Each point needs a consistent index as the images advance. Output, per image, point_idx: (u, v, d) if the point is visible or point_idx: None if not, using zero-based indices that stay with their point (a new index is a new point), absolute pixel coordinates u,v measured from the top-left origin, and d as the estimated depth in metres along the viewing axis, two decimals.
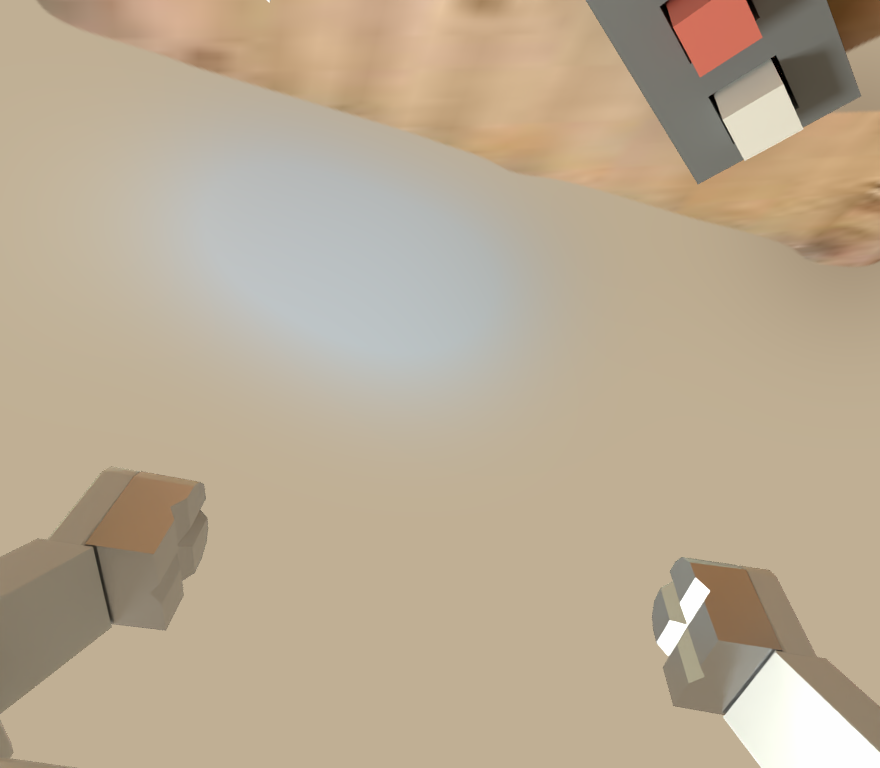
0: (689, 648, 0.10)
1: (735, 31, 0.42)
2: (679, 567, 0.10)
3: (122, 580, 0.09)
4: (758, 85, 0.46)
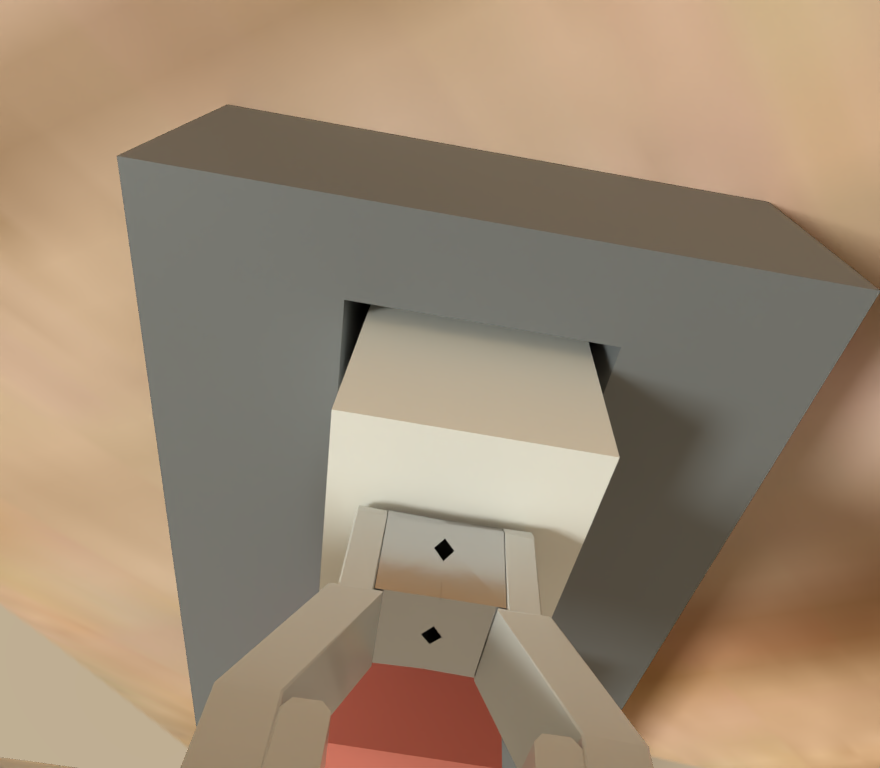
0: None
1: None
2: None
3: (397, 622, 0.09)
4: None
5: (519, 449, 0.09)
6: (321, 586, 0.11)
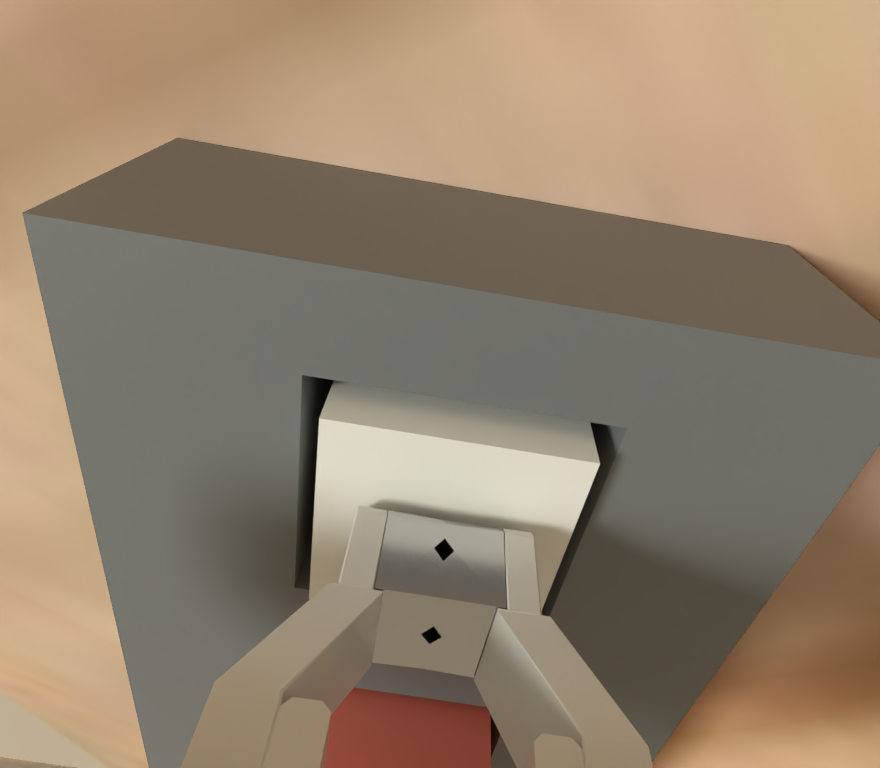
0: None
1: None
2: None
3: (397, 622, 0.09)
4: None
5: (502, 455, 0.09)
6: (311, 592, 0.12)
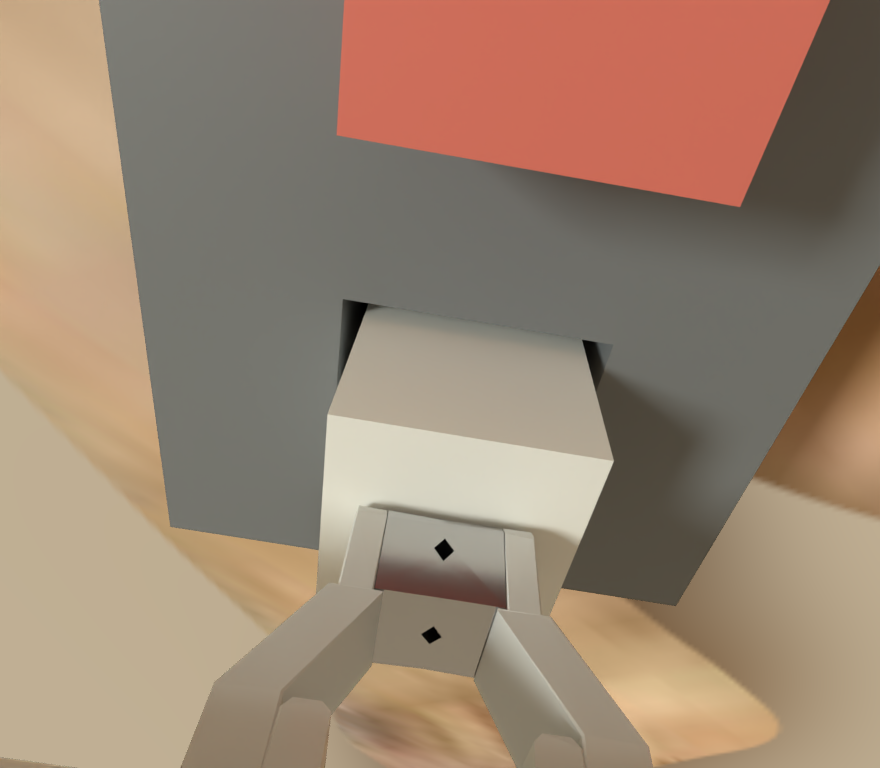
0: None
1: (681, 21, 0.06)
2: None
3: (397, 622, 0.09)
4: (520, 386, 0.11)
5: None
6: None
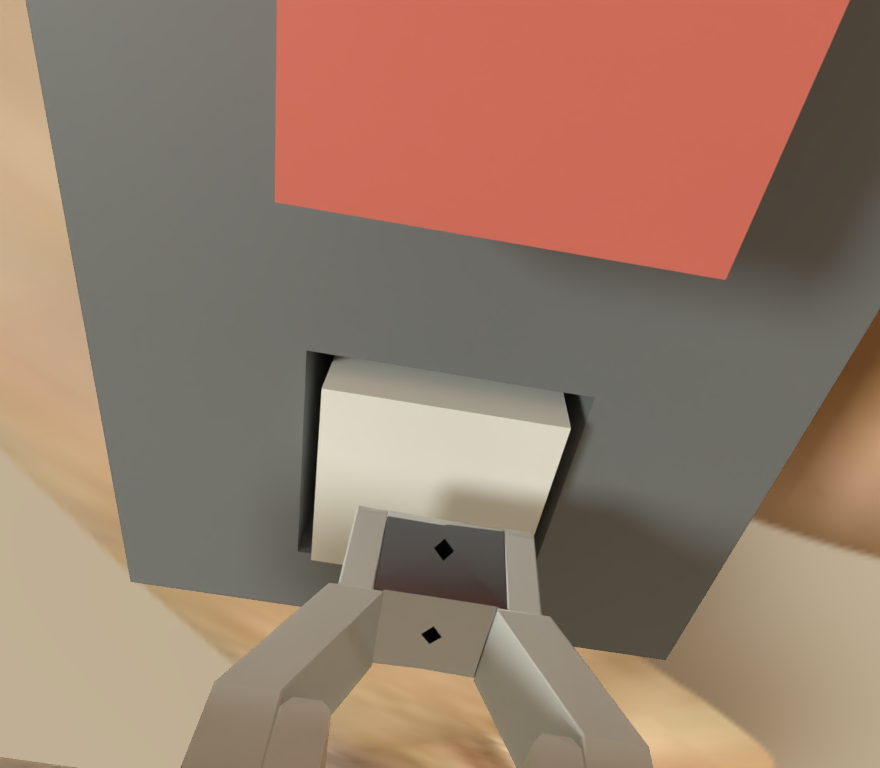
0: None
1: (656, 83, 0.05)
2: None
3: (397, 621, 0.09)
4: None
5: None
6: None
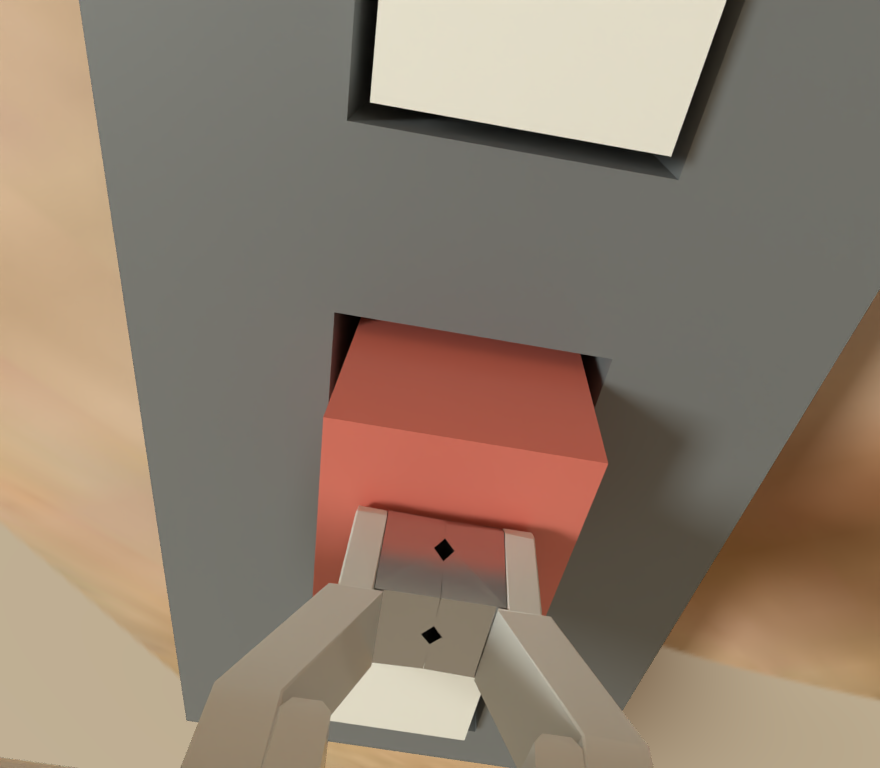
0: None
1: None
2: None
3: (397, 622, 0.09)
4: None
5: None
6: (373, 86, 0.09)
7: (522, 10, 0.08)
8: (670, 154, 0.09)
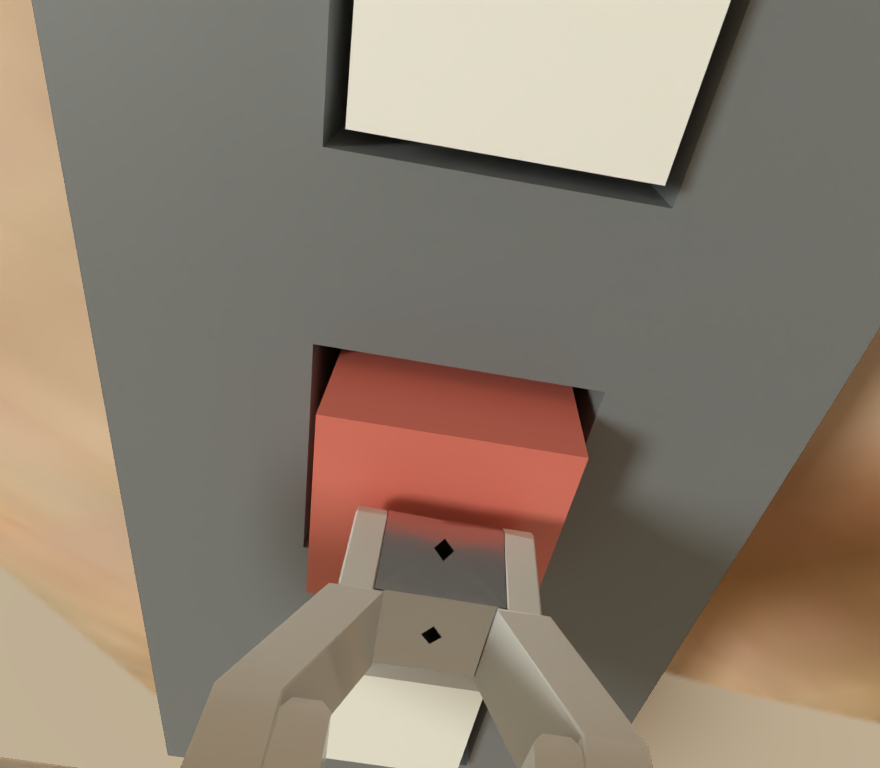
0: None
1: None
2: None
3: (397, 621, 0.09)
4: None
5: None
6: (349, 112, 0.08)
7: (506, 33, 0.07)
8: (664, 183, 0.08)
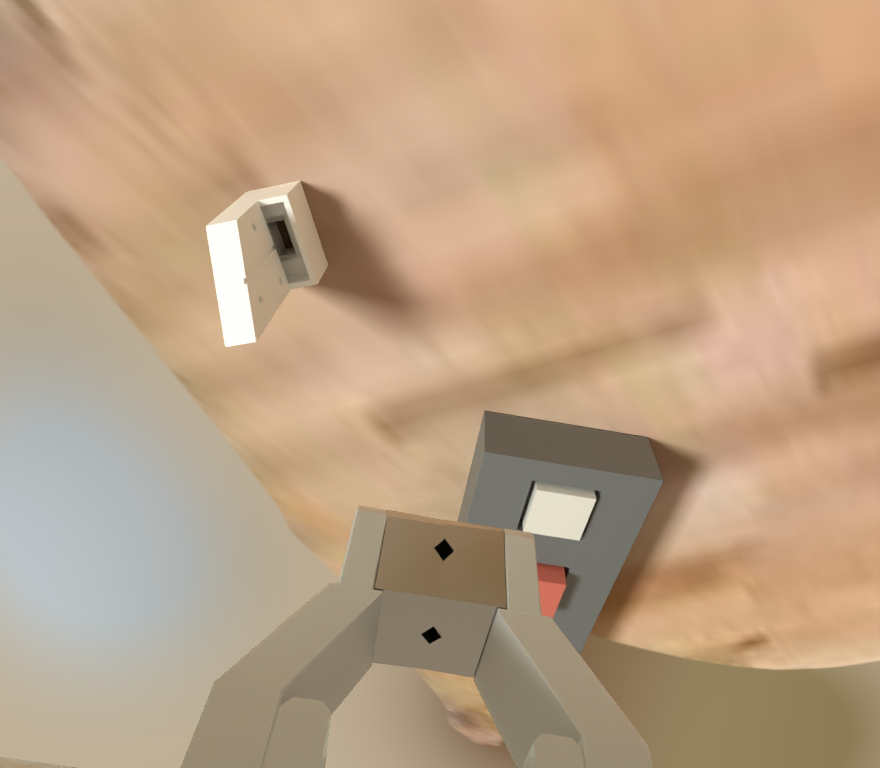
0: None
1: (542, 605, 0.49)
2: None
3: (397, 621, 0.09)
4: None
5: (575, 497, 0.44)
6: (524, 529, 0.46)
7: (551, 522, 0.45)
8: (579, 540, 0.46)
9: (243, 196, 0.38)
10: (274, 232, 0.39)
